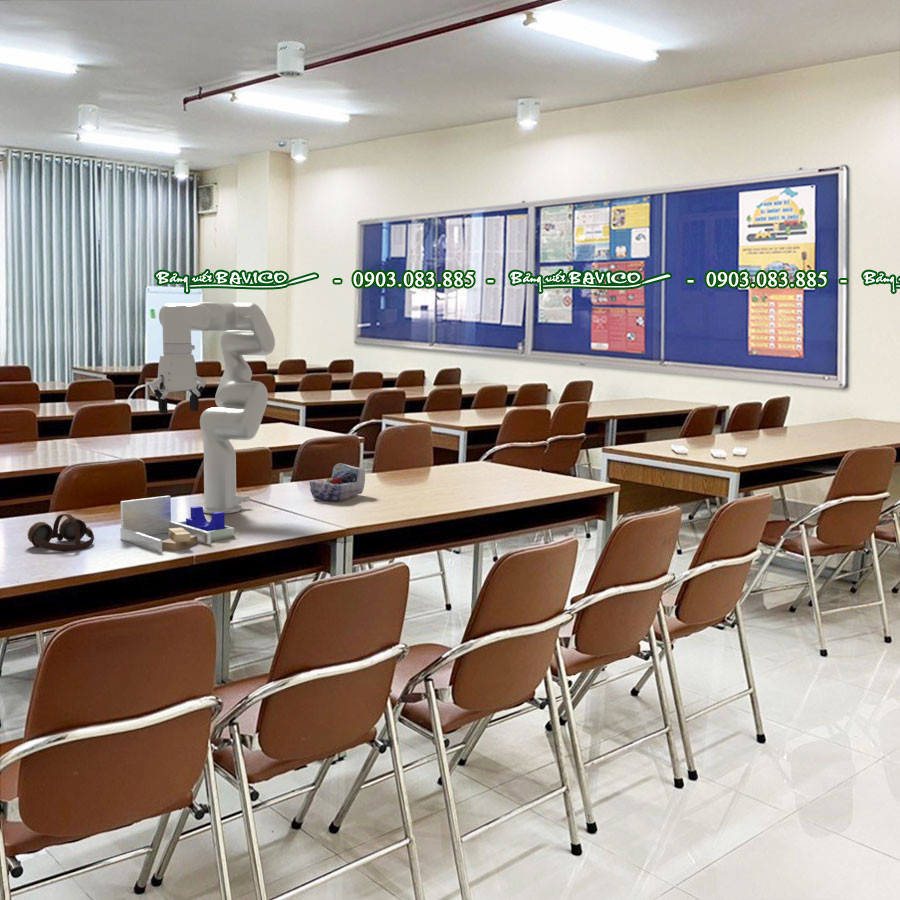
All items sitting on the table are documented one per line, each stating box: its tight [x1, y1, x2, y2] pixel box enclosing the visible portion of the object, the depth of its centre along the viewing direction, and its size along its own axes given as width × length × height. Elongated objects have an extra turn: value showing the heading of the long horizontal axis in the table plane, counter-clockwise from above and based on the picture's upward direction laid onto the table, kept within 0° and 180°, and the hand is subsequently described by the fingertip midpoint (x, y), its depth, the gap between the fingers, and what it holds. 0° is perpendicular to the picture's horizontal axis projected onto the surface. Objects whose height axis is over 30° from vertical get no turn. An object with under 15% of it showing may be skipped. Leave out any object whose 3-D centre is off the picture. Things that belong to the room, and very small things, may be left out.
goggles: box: [27, 513, 95, 552], centre depth 261 cm, size 15×13×10 cm
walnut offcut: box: [162, 535, 198, 552], centre depth 264 cm, size 10×4×2 cm, turn 161°
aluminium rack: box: [120, 495, 212, 553], centre depth 268 cm, size 15×21×10 cm
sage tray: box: [176, 519, 235, 542], centre depth 278 cm, size 9×17×2 cm, turn 45°
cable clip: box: [185, 505, 226, 531], centre depth 279 cm, size 12×4×6 cm, turn 46°
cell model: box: [309, 462, 366, 503], centre depth 337 cm, size 13×11×20 cm
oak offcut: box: [168, 528, 190, 542], centre depth 263 cm, size 8×4×2 cm, turn 30°
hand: (178, 411), depth 283 cm, fingers open, 9 cm apart
